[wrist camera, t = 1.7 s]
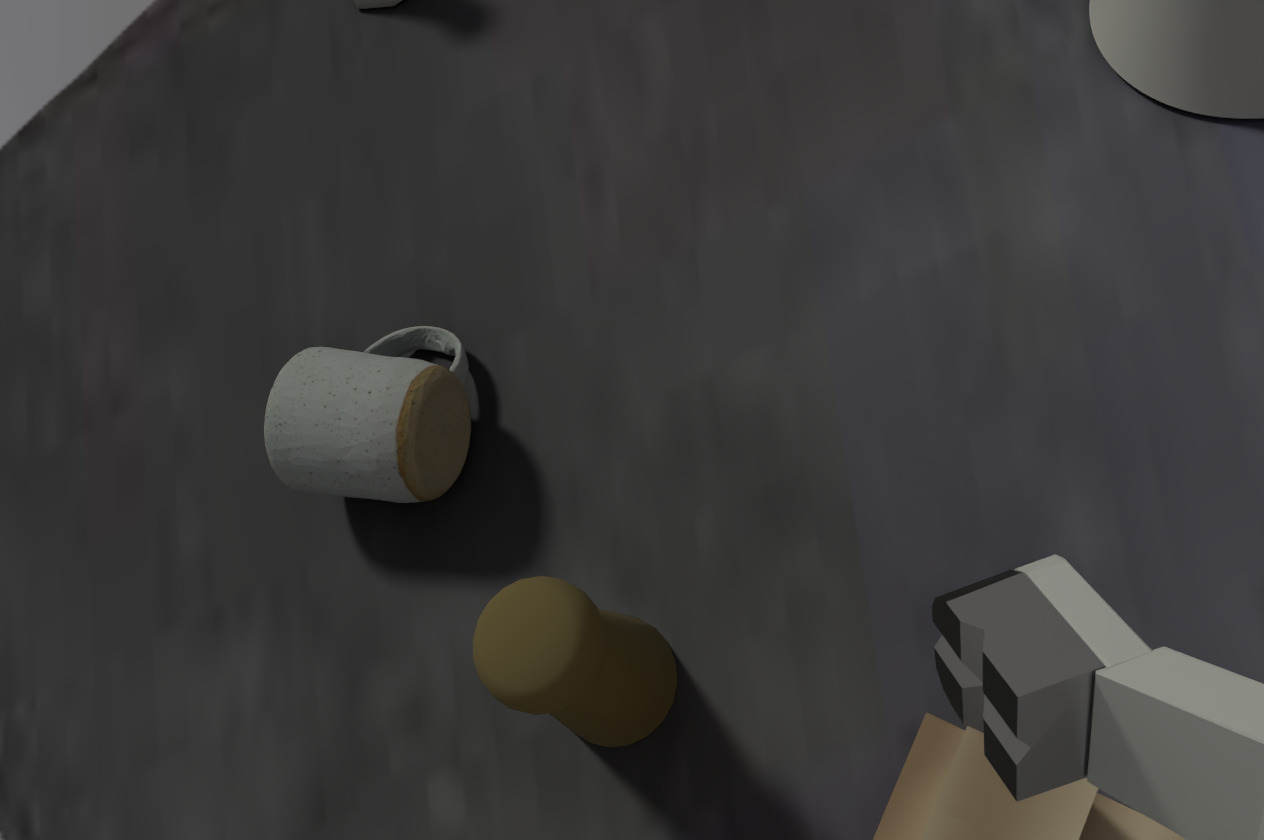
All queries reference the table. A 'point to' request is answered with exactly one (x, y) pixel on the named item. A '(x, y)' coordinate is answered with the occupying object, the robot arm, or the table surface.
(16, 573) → the table surface
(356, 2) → the flask
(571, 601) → the cork
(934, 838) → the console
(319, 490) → the ceramic mug
